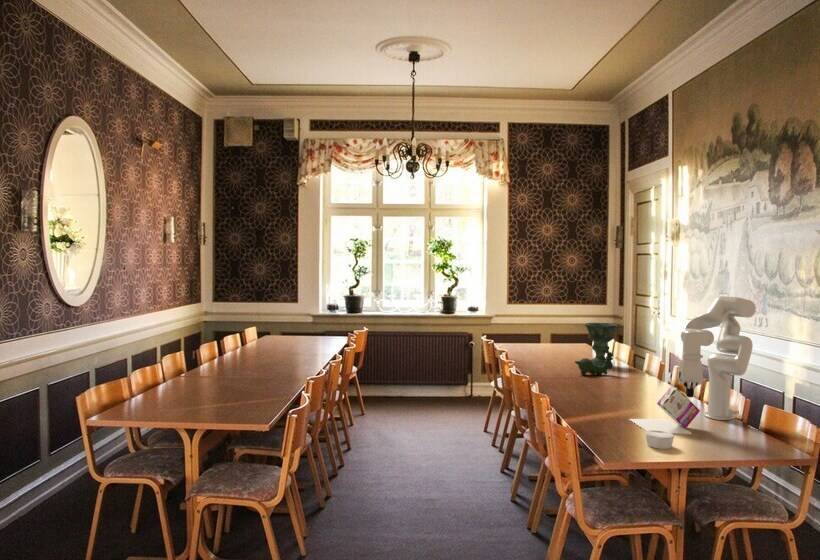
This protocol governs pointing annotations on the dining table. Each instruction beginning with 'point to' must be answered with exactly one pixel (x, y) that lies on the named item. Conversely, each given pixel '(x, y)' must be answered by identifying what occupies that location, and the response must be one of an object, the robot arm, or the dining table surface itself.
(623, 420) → the dining table surface
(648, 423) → the mat
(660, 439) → the ramekin
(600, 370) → the toy figurine
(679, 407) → the candy bar box
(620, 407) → the dining table surface
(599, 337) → the goblet
